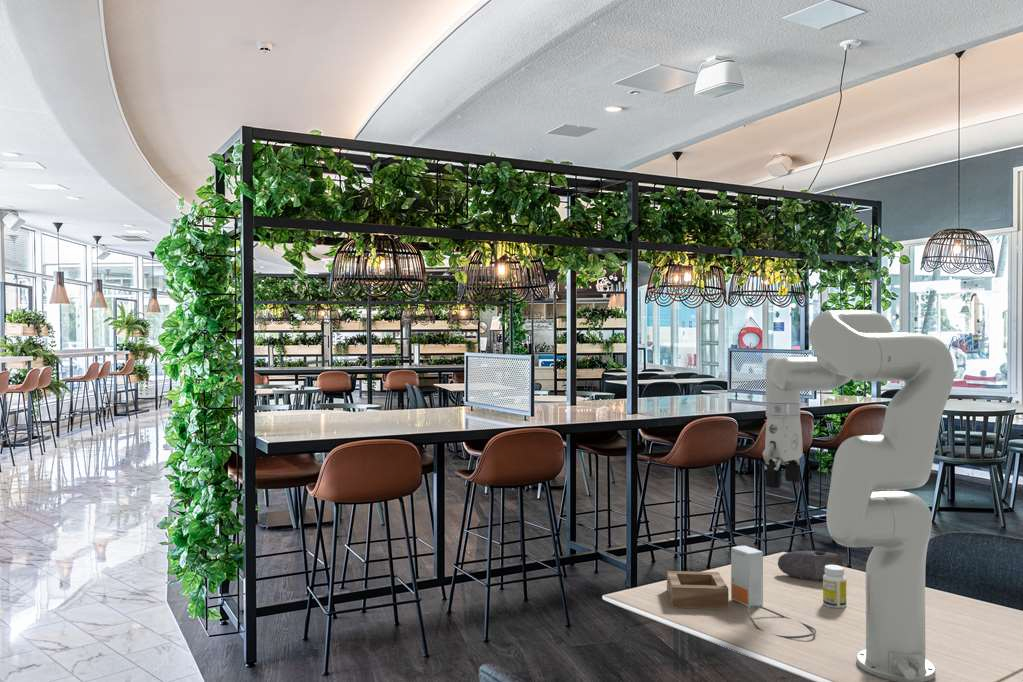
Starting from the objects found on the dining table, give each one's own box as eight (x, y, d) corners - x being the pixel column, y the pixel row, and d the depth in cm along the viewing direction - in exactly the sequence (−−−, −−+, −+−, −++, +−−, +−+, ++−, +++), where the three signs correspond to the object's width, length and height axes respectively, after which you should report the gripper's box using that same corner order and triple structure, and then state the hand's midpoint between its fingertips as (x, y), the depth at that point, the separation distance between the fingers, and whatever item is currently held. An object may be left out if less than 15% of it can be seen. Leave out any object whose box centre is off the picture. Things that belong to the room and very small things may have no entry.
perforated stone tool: (775, 577, 189) (775, 549, 189) (779, 571, 194) (779, 544, 194) (841, 586, 182) (840, 557, 182) (843, 580, 186) (843, 552, 186)
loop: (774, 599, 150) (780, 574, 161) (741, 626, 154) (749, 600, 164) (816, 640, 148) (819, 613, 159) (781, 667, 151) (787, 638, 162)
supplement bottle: (842, 601, 171) (842, 564, 171) (849, 609, 166) (849, 570, 166) (820, 601, 171) (820, 563, 171) (826, 608, 167) (826, 570, 167)
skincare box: (730, 599, 172) (730, 546, 172) (744, 597, 174) (744, 544, 174) (749, 608, 167) (749, 553, 167) (764, 605, 169) (763, 551, 169)
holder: (728, 609, 166) (728, 588, 166) (672, 607, 167) (672, 587, 167) (718, 591, 178) (718, 572, 178) (666, 590, 179) (666, 570, 179)
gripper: (781, 414, 167) (781, 492, 167) (814, 409, 179) (814, 481, 179) (749, 412, 173) (749, 487, 173) (784, 406, 185) (784, 477, 185)
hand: (782, 484), depth 176 cm, fingers open, 9 cm apart
